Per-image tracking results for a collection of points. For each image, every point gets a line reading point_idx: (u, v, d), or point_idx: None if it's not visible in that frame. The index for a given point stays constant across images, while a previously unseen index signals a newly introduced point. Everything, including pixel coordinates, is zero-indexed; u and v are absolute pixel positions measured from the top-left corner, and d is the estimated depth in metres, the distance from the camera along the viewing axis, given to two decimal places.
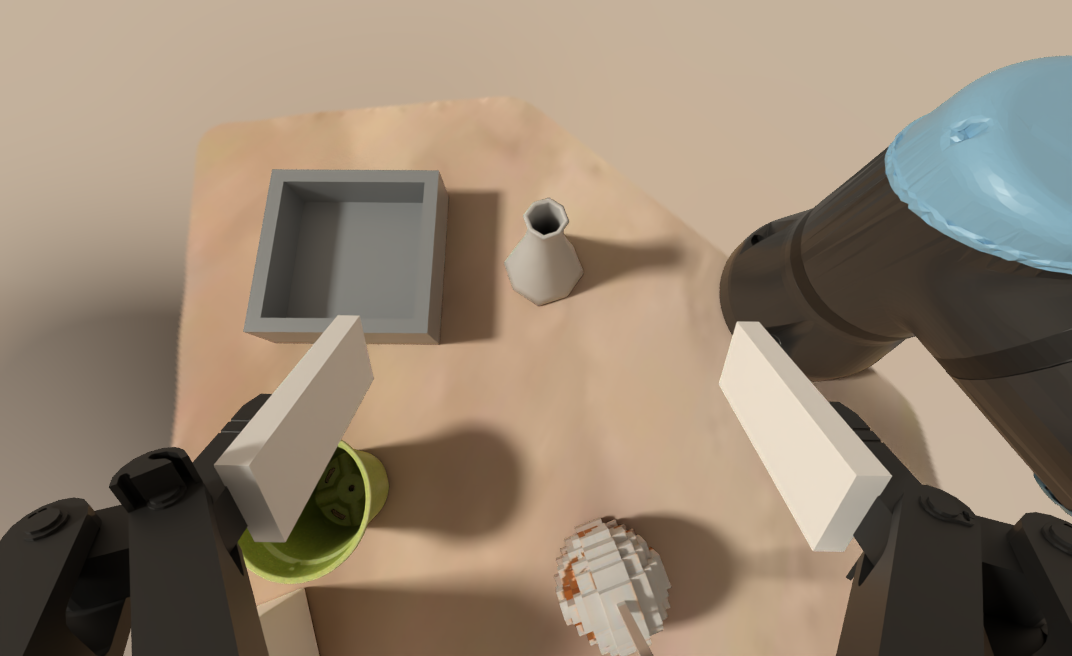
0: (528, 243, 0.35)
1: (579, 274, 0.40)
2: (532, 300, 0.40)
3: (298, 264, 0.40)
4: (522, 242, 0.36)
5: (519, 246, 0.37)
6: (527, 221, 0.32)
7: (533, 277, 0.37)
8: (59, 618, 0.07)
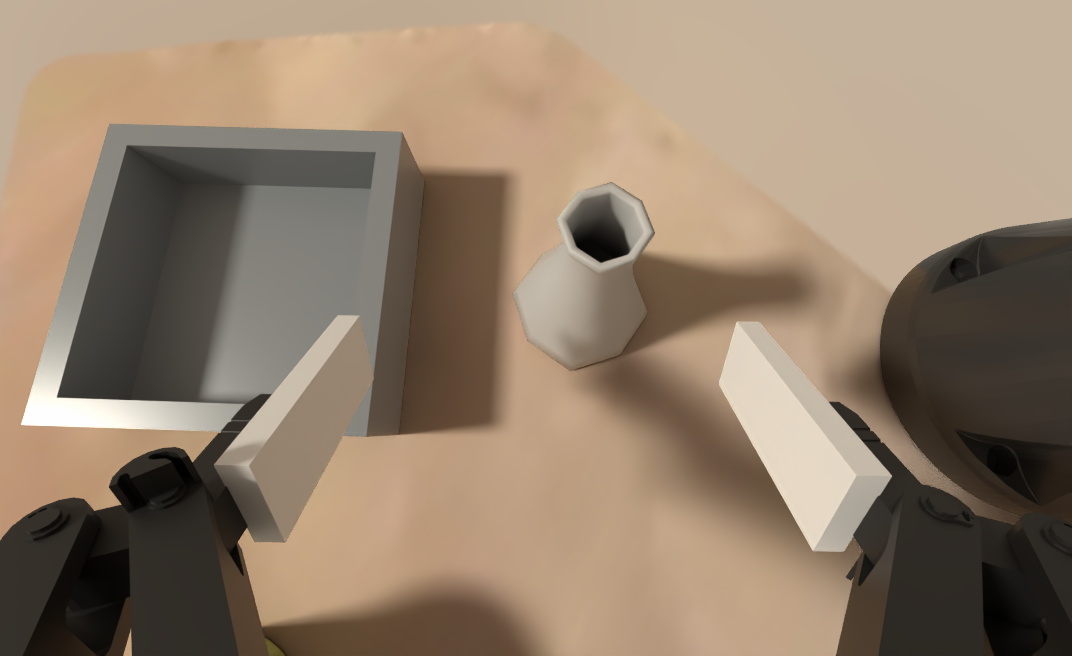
0: (561, 272, 0.18)
1: (641, 317, 0.23)
2: (561, 360, 0.23)
3: (163, 289, 0.24)
4: (548, 267, 0.19)
5: (542, 273, 0.20)
6: (566, 232, 0.15)
7: (566, 328, 0.21)
8: (58, 618, 0.07)
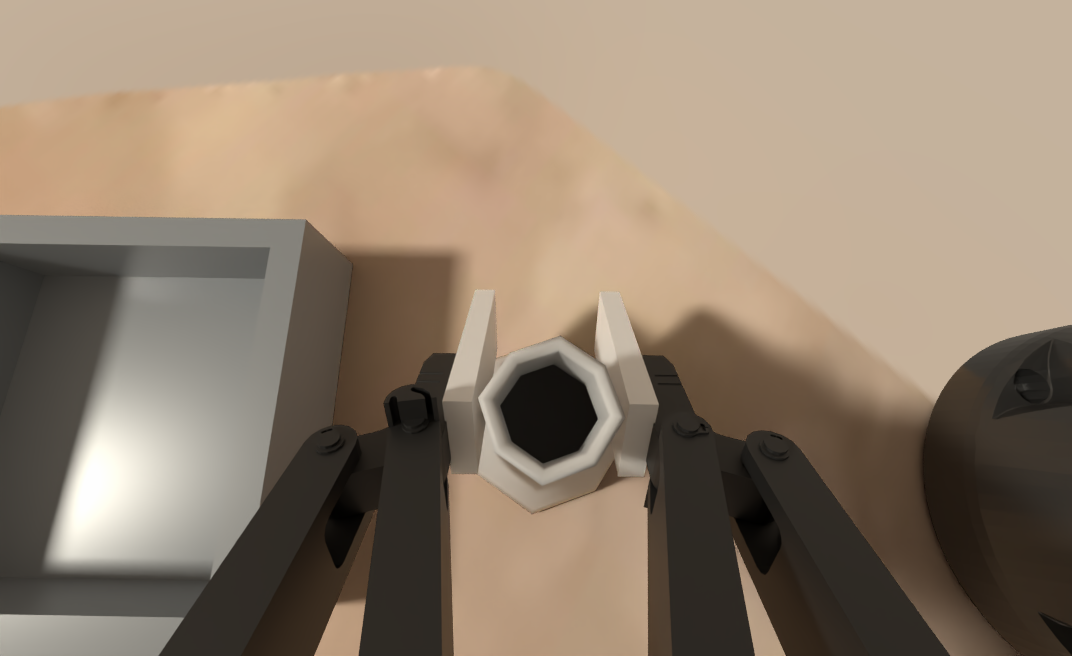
0: None
1: None
2: (520, 502, 0.18)
3: (8, 417, 0.18)
4: None
5: None
6: (491, 421, 0.10)
7: (519, 481, 0.16)
8: (321, 529, 0.09)
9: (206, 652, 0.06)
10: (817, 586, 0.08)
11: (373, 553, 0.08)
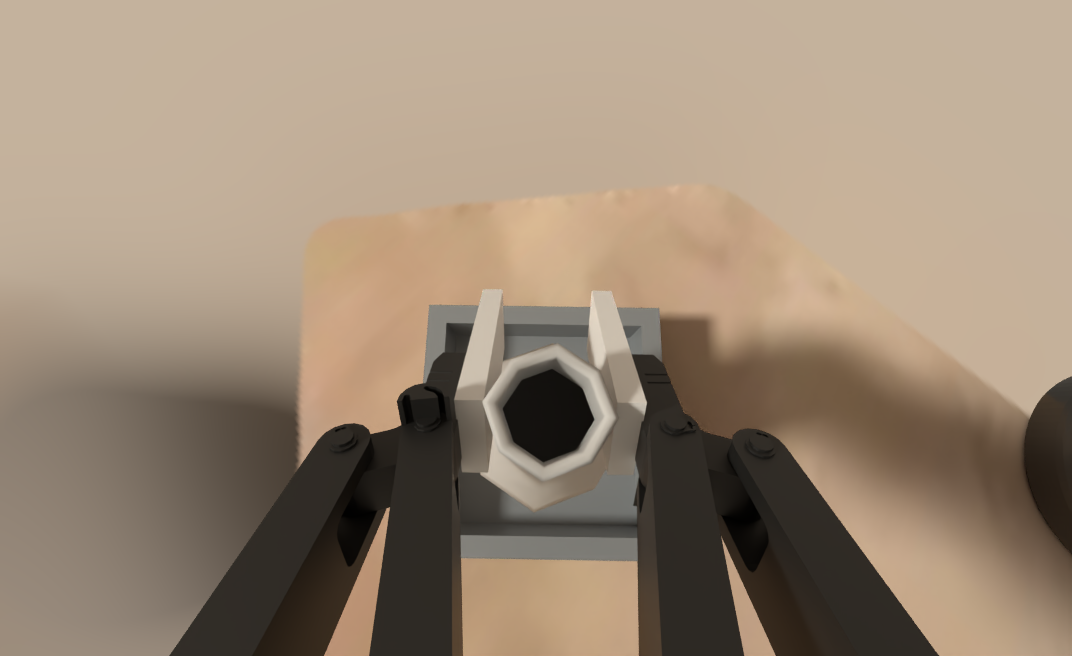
0: None
1: None
2: (522, 501, 0.19)
3: None
4: None
5: None
6: (494, 423, 0.10)
7: (521, 480, 0.16)
8: (334, 527, 0.09)
9: (220, 648, 0.06)
10: (803, 583, 0.08)
11: (385, 550, 0.08)
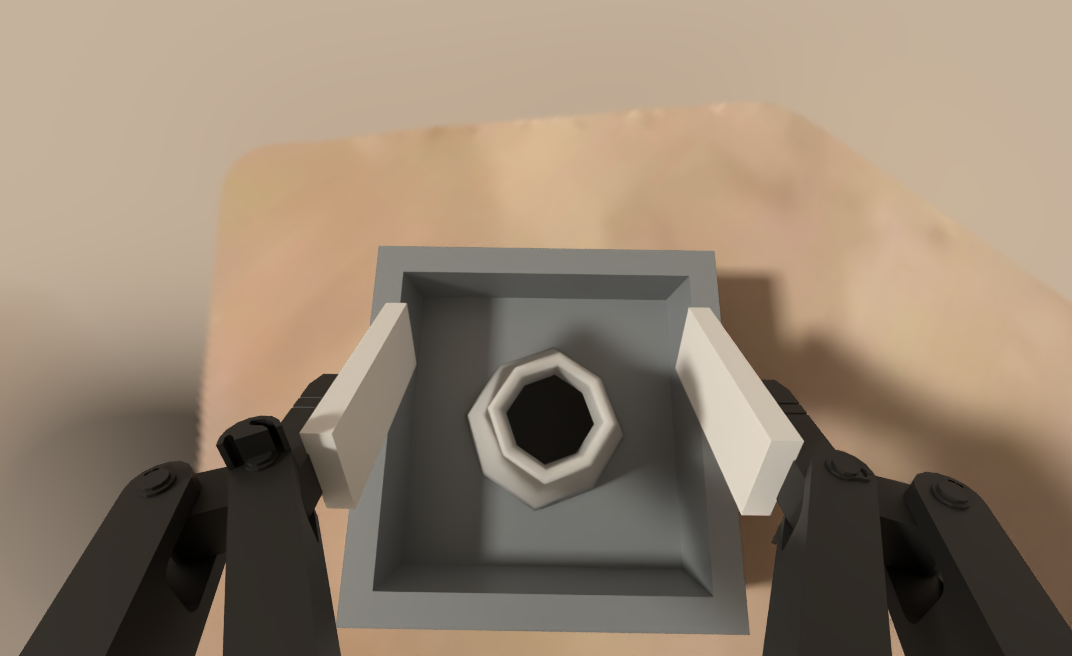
0: None
1: (617, 444, 0.20)
2: (523, 500, 0.20)
3: (420, 424, 0.21)
4: None
5: (490, 419, 0.16)
6: (499, 428, 0.11)
7: (523, 480, 0.17)
8: (160, 574, 0.08)
9: None
10: (984, 645, 0.07)
11: (226, 611, 0.07)
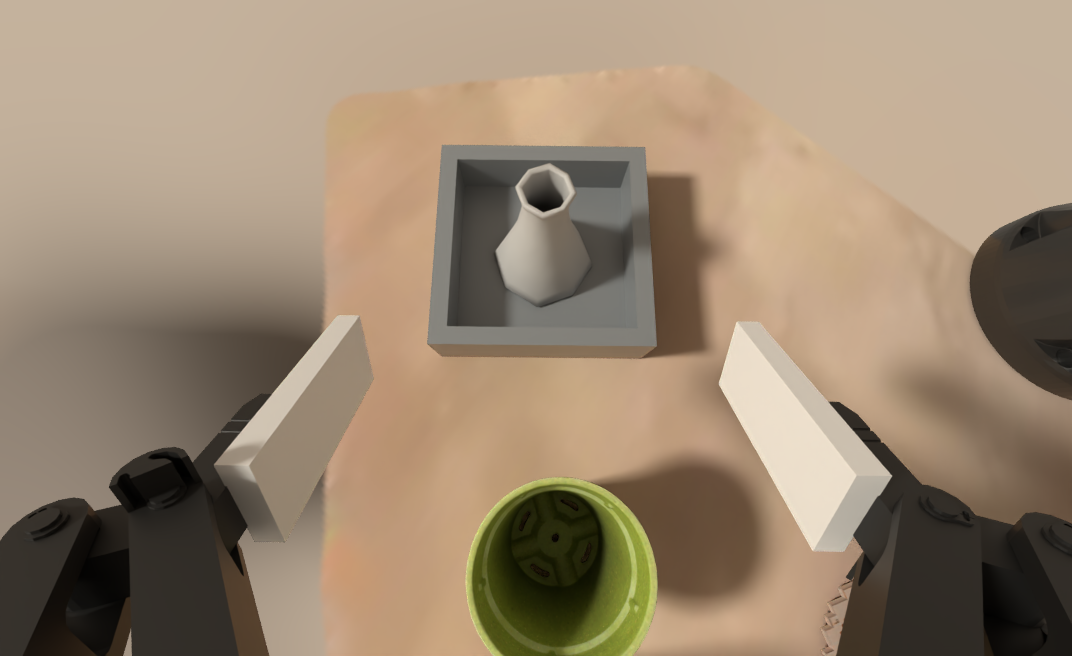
0: (523, 226, 0.27)
1: (587, 267, 0.32)
2: (530, 300, 0.32)
3: (465, 260, 0.33)
4: (515, 226, 0.28)
5: (511, 231, 0.29)
6: (521, 194, 0.24)
7: (530, 271, 0.30)
8: (58, 618, 0.07)
9: None
10: None
11: None
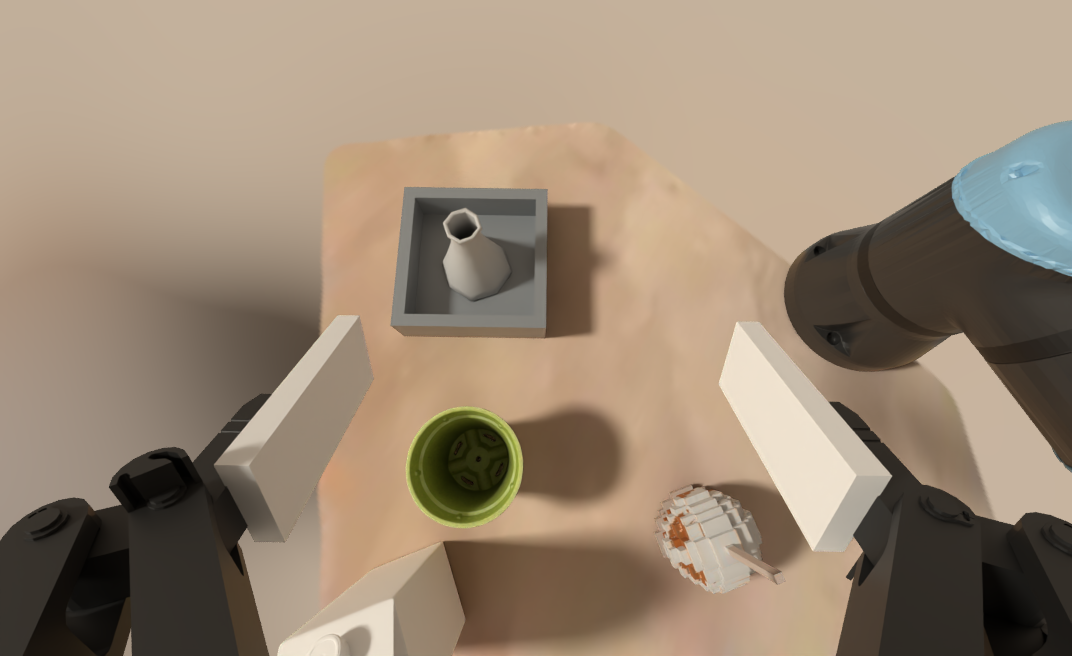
0: (453, 247, 0.40)
1: (507, 273, 0.46)
2: (466, 296, 0.46)
3: (422, 268, 0.47)
4: (450, 246, 0.41)
5: (449, 249, 0.42)
6: (446, 228, 0.37)
7: (463, 276, 0.43)
8: (58, 618, 0.07)
9: None
10: None
11: None
